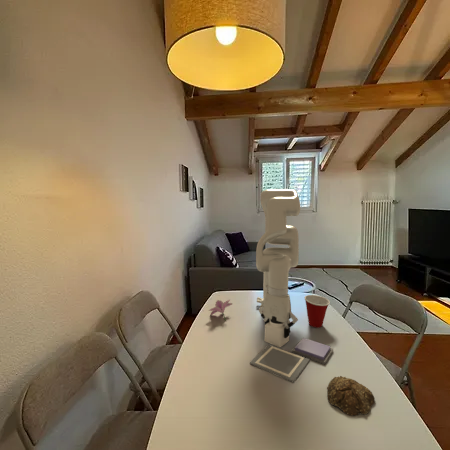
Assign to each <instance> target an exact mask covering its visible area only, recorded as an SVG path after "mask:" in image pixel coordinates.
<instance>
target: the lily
mask: <svg viewBox="0 0 450 450" xmlns="http://www.w3.org/2000/svg"><path fill="white" fill-rule="evenodd" d="M230 301H231V299H228V300H225V302H223V301H222V300H221V299H220V300H219V299H217V300H216V301H215V304H214V305H215V306H214V307H212V308H210V309H209V310H208V311H210V316H212V315H214V314H216V313H221V314H222V316H223V319H224V321H227V319H226V317H225V315H224V312H225V310H226V308H227V307H230V306H232V305H233V303H231V302H230Z"/></svg>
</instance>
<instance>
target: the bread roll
mask: <svg viewBox="0 0 450 450" xmlns="http://www.w3.org/2000/svg"><path fill="white" fill-rule="evenodd" d="M326 390H327V391H326V392H327V400H328V402H329V403H330V405H332V406H335V407H337V408H339V409H340V410H341V411H343V413H344V414H346V415H347V416H352V417H354V416H355V417H356V416H359V415H360V414H361V415H367V414H368V413H370V412H371V410H372V406H373V405H374V404H375V403H376V402H375V400H376V399H375V397H374V394H373V392H372V391H371V390H370V389H369V388H368V387H366V386H365V385H364V384H362V383H359V382H358V381H356V380H355V379H353V378H349V377H346V376H342V375H340V376H334V377H333V378H331V380H330V381H329V383H328V386H326Z"/></svg>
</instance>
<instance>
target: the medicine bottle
mask: <svg viewBox="0 0 450 450" xmlns="http://www.w3.org/2000/svg"><path fill="white" fill-rule="evenodd" d="M269 320H270V322H269V323H267V324H265V323H264V342H265V343H268V344H269V345H272V346H275V347H277V348H280V349H281V348H282V347H283V346H284V345H286V344H287V343H288V342H289V341H290V335H289V336H288V337H287V338H284V328H285V325H284V323H282V322H279V321H277V317H275V316H272V319H269Z"/></svg>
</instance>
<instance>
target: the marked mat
mask: <svg viewBox="0 0 450 450" xmlns="http://www.w3.org/2000/svg"><path fill="white" fill-rule="evenodd" d="M310 360H311V359H308V358H305V357H302V356H300V355H297V354H294V353H292V351H291V352H290V351H288V350H286V349H282V348H281V347H280V348H279V347H277V346H274V345H272V344H267V345H266V346H265V347H264V348H263V349H262V350H261V351H260V352H259V353H258V354H257V355H256V356H254V358H253V359H252V360H250V361H249V364H250V365H251V366H254V367H257V368H259V369H261V370H264V371H265V372H267V373H270V374H272V375H275V376H277V377H280V378H282V379H284V380H287V381H289V382H292V383H295V382H296V380H297V379H298V378H299V376H300V375H301V373H302V372H303V371H304V369H305V368H306V367H307V366H308V364H309V362H310Z"/></svg>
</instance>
